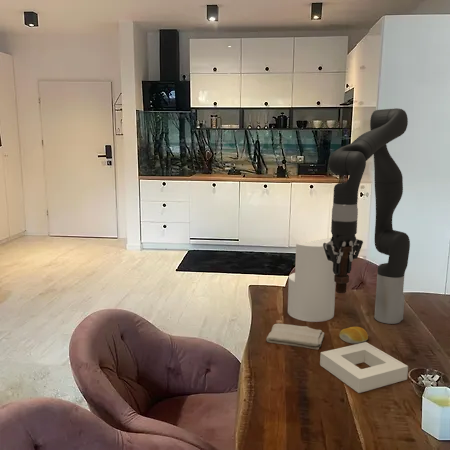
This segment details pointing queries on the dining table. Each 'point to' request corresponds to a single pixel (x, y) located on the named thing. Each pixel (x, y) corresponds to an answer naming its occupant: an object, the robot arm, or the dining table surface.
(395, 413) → the dining table surface
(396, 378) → the collar block
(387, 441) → the dining table surface
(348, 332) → the bread roll
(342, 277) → the bolt
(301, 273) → the cylinder
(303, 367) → the dining table surface
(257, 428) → the dining table surface
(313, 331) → the washcloth
